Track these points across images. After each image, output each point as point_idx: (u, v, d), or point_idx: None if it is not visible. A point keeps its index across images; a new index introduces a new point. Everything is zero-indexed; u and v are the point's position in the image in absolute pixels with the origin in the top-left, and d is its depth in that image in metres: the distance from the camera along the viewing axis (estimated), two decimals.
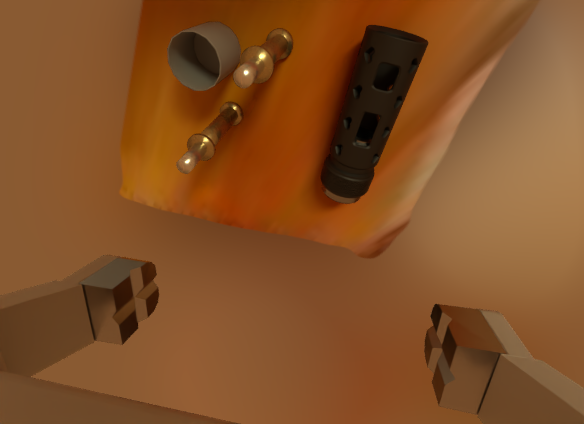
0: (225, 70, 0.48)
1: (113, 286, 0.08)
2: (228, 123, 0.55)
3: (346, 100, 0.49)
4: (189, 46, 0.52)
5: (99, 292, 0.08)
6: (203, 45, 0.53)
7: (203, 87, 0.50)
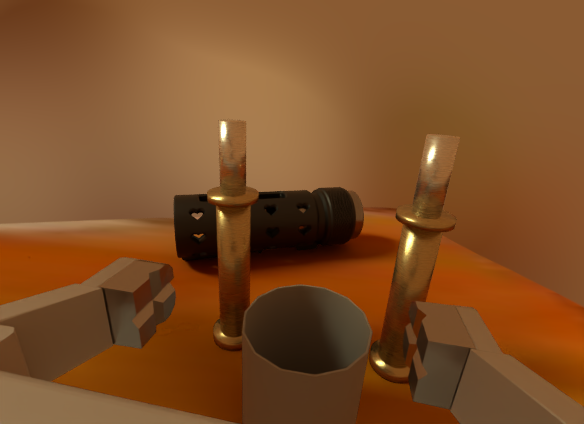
0: (296, 309, 0.25)
1: (133, 289, 0.08)
2: None
3: (253, 224, 0.43)
4: None
5: (119, 295, 0.08)
6: None
7: (350, 318, 0.23)
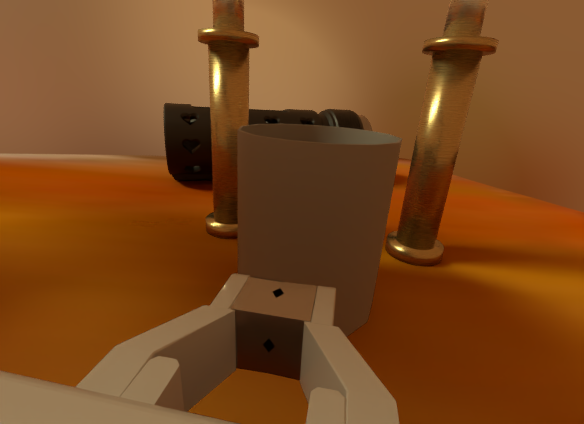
0: None
1: (266, 311, 0.07)
2: None
3: None
4: None
5: (253, 318, 0.07)
6: None
7: None
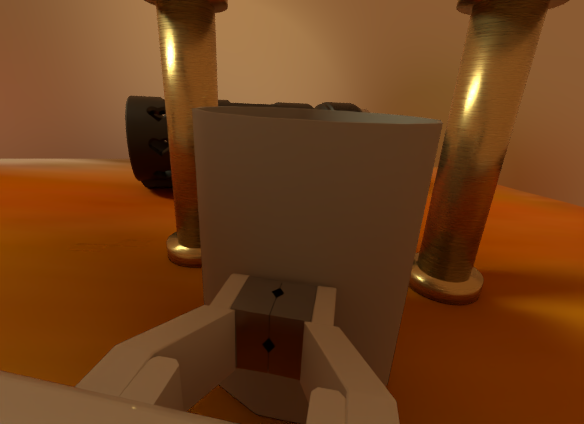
0: None
1: (266, 311, 0.07)
2: None
3: None
4: None
5: (253, 318, 0.07)
6: None
7: None
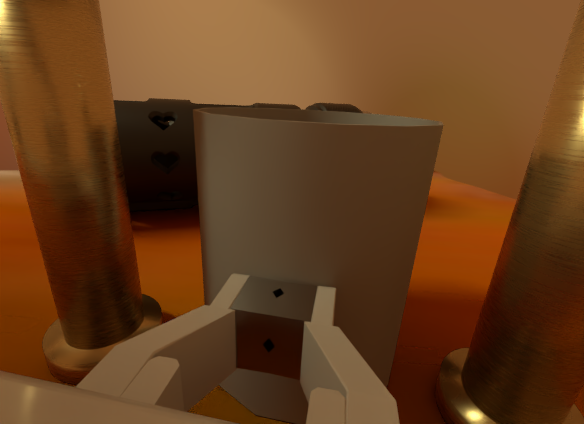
0: None
1: (266, 311, 0.07)
2: None
3: (194, 144, 0.24)
4: None
5: (253, 318, 0.07)
6: None
7: None
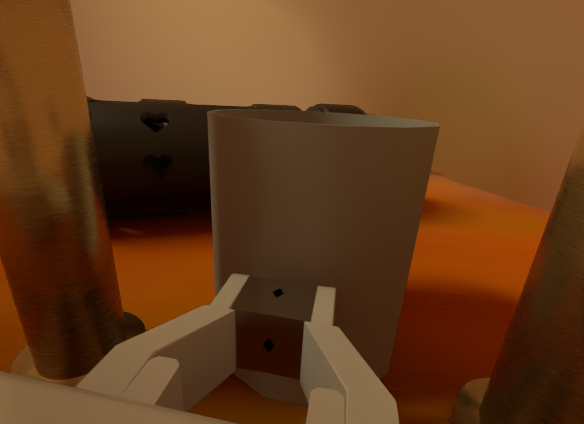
0: None
1: (266, 311, 0.07)
2: (528, 275, 0.09)
3: (189, 147, 0.23)
4: None
5: (253, 318, 0.07)
6: None
7: None
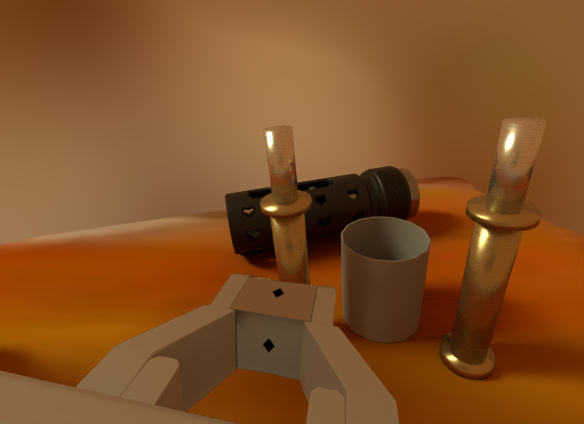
0: (373, 235, 0.35)
1: (266, 311, 0.07)
2: None
3: None
4: None
5: (253, 318, 0.07)
6: None
7: (414, 236, 0.32)
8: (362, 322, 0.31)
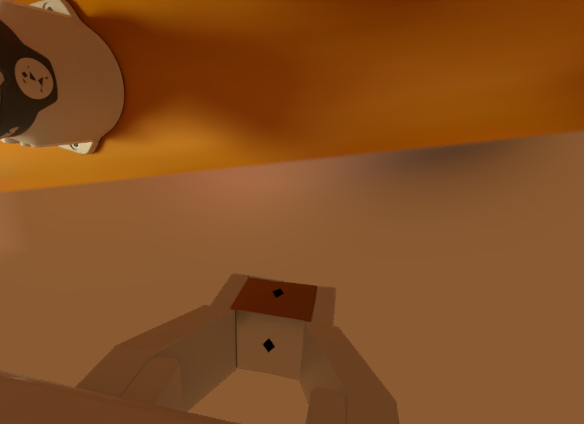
0: None
1: (266, 311, 0.07)
2: None
3: None
4: None
5: (253, 318, 0.07)
6: None
7: None
8: None
